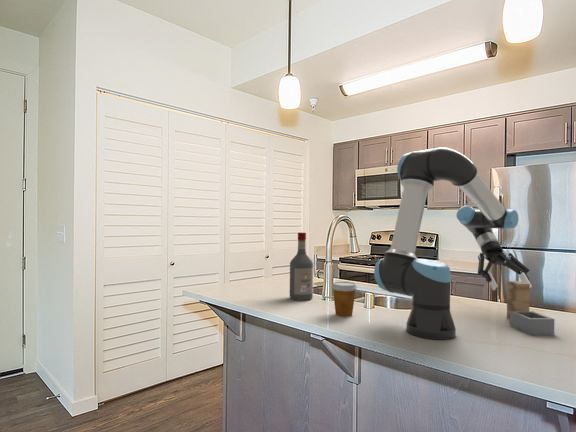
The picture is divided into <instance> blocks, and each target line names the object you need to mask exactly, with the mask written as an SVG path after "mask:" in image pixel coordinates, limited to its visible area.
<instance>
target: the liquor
mask: <svg viewBox="0 0 576 432" xmlns="http://www.w3.org/2000/svg"><path fill="white" fill-rule="evenodd" d="M306 235H307V233H306V232H297V252H296V253H297V254H296V255H295V256H294V257H293V258H292V259H291V261H290V262H289V297H290V299H291V300H293V301H297V302H303V301H311V300H313V297H314V295H313V294H314V290H313V289H314V263H313V261H312V259H311V258H310V257H309V256H308V254H307V251H306V246H307V245H306V240H307V236H306Z"/></svg>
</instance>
